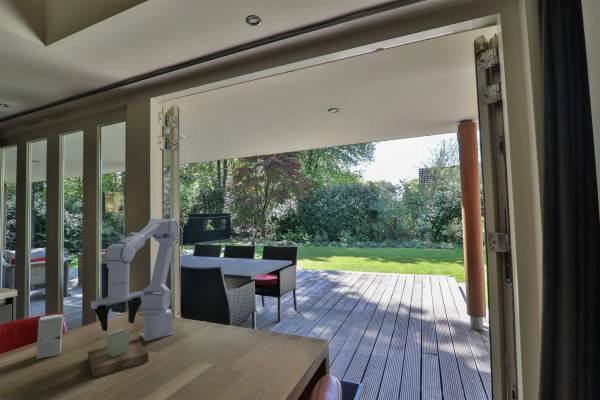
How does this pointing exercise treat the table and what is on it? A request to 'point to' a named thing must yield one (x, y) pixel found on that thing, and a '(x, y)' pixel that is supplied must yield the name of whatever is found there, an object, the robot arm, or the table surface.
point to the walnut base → (116, 359)
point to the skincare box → (49, 336)
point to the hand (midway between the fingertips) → (118, 326)
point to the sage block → (117, 342)
